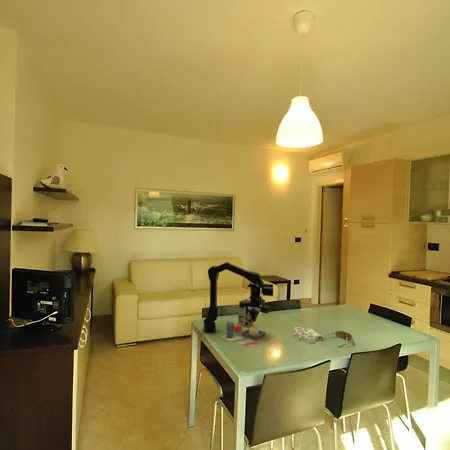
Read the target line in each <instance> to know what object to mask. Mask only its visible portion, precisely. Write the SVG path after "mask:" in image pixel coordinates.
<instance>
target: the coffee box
mask: <svg viewBox="0 0 450 450" xmlns="http://www.w3.org/2000/svg"><path fill="white" fill-rule="evenodd" d="M243 301H246V302H249V303H250V299H249V298H248V299H247V298H246V299H244V300H240V301H239V302H238V305H239V304H240V302H243ZM247 309H248V307H244V308H240V307H239V306H238V317H237V318H238V320H237V321H238V322H237V324H239V325H242V328H248V329H249V328H250V327H251V326H254V323H255V322H253V319H252V317H251V315H250V313H249V311H247Z"/></svg>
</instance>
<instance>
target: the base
mask: <svg viewBox="0 0 450 450" xmlns="http://www.w3.org/2000/svg"><path fill="white" fill-rule="evenodd" d="M265 336H266V331H263V330H260V329H259V334H257V335H253V334H250V333H249V328H248V329H246V330H244V331H242V332H241V337H243V338H246V339H250V340H253V341H258V340H260V339H261V338H263V337H265Z"/></svg>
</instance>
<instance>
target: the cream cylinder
mask: <svg viewBox="0 0 450 450" xmlns="http://www.w3.org/2000/svg"><path fill="white" fill-rule="evenodd" d="M248 329H249V333H250V334H253V335H257V334H259V330H260V329H259V328H258V326H256V325H253V326H250V327H248Z"/></svg>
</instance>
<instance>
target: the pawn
mask: <svg viewBox="0 0 450 450" xmlns="http://www.w3.org/2000/svg"><path fill="white" fill-rule="evenodd" d="M234 325H235V323H234V322H233V321H228V322H227V323H226V334H225V335H226V337H227V338H233V335H235V334H234V333H235V331H234Z"/></svg>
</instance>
